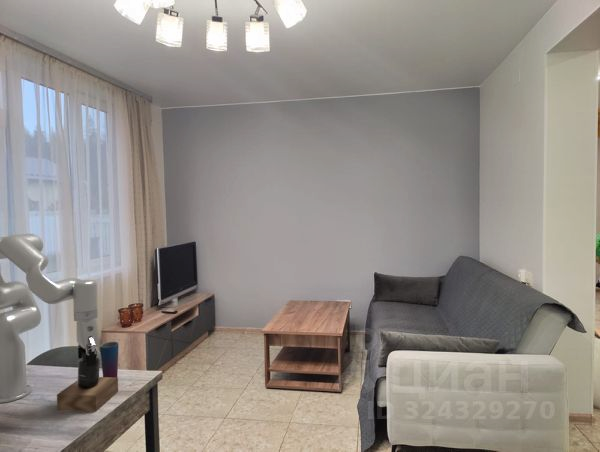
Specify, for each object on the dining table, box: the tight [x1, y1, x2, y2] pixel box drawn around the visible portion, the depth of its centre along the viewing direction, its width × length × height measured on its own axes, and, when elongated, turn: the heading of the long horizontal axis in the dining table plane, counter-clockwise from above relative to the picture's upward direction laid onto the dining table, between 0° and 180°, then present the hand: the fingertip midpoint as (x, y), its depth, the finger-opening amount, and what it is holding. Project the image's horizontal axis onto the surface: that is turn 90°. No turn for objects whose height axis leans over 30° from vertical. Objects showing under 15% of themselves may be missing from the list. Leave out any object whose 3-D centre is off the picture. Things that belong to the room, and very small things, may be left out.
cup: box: [99, 341, 119, 378], centre depth 155 cm, size 7×7×15 cm
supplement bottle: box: [77, 350, 101, 388], centre depth 140 cm, size 7×7×12 cm
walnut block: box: [56, 376, 119, 412], centre depth 139 cm, size 14×14×6 cm
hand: (87, 361), depth 139 cm, fingers open, 9 cm apart
